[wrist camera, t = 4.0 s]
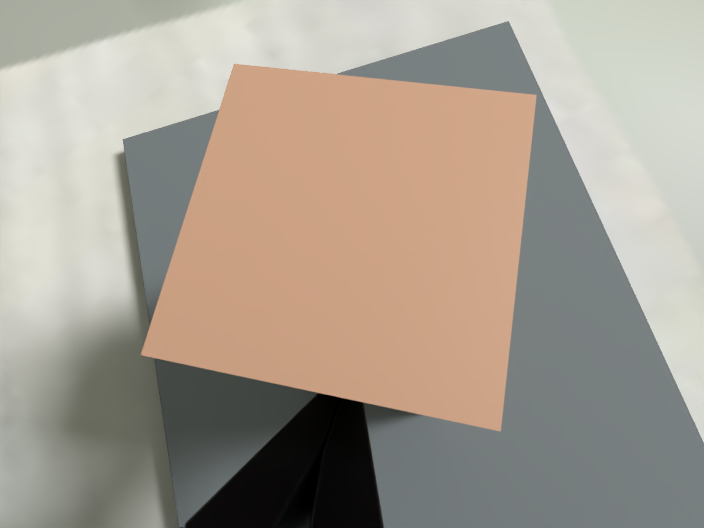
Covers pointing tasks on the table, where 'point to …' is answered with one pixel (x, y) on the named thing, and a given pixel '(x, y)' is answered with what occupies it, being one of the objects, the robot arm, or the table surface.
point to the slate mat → (523, 364)
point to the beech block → (355, 241)
